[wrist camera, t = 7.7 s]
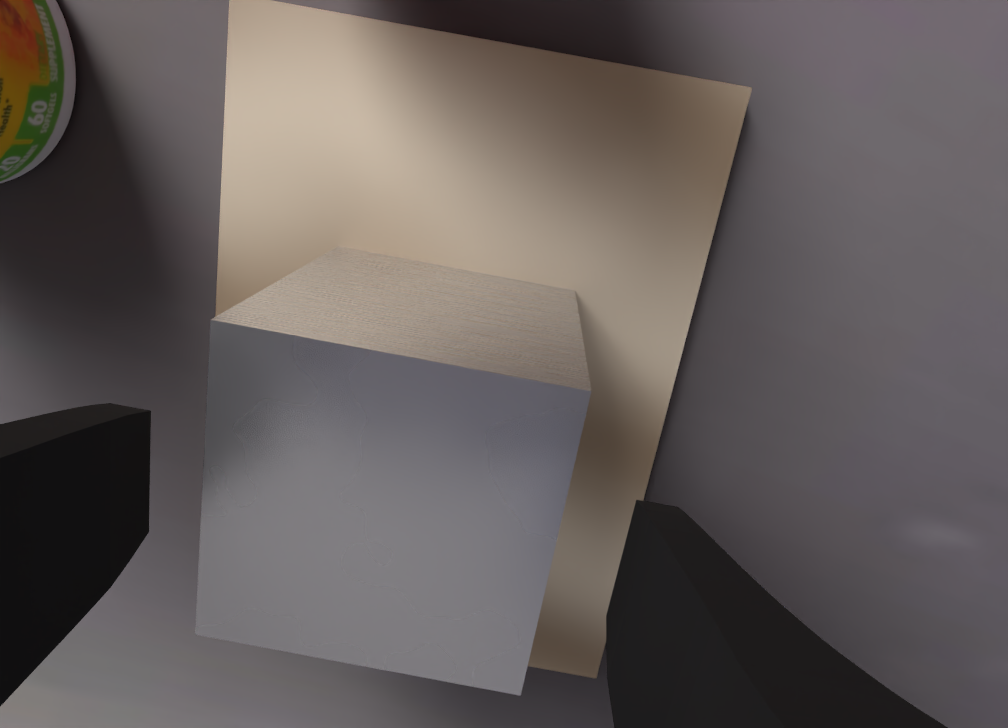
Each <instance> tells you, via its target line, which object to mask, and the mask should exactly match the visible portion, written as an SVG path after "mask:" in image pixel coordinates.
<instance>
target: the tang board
mask: <svg viewBox="0 0 1008 728" xmlns="http://www.w3.org/2000/svg"><path fill="white" fill-rule="evenodd" d="M751 90H752V88H751V87H746V86H740V85H735V84H729V83H724V82H718V81H713V80H707V79H702V78H696V77H691V76H685V75H680V74H674V73H669V72H663V71H658V70H652V69H647V68H641V67H636V66H630V65H625V64H619V63H614V62H608V61H603V60H597V59H591V58H586V57H580V56H575V55H569V54H564V53H558V52H553V51H547V50H542V49H536V48H531V47H525V46H520V45H514V44H509V43H503V42H498V41H492V40H487V39H481V38H476V37H470V36H465V35H459V34H454V33H448V32H443V31H437V30H431V29H426V28H420V27H415V26H409V25H404V24H398V23H393V22H387V21H382V20H376V19H371V18H365V17H360V16H354V15H349V14H343V13H338V12H332V11H327V10H321V9H316V8H310V7H305V6H299V5H294V4H288V3H283V2H277V1H271V0H229V22H228V44H227V67H226V89H225V112H224V134H223V157H222V179H221V202H220V225H219V247H218V270H217V292H216V315H215V317H216V316H218V315H220V314H221V313H223V312H225V311H227V310H228V309H230V308H232V307H233V306H235V305H237V304H239V303H240V302H242V301H244V300H246V299H247V298H249V297H251V296H253V295H254V294H256V293H258V292H260V291H261V290H263V289H265V288H267V287H268V286H270V285H272V284H273V283H275V282H277V281H279V280H280V279H282V278H284V277H286V276H287V275H289V274H291V273H293V272H294V271H296V270H298V269H300V268H301V267H303V266H305V265H306V264H308V263H310V262H312V261H313V260H315V259H317V258H319V257H320V256H322V255H324V254H326V253H327V252H329V251H331V250H333V249H334V248H336V247H338V246H340V247H346V248H351V249H356V250H362V251H367V252H372V253H378V254H383V255H388V256H394V257H399V258H404V259H410V260H415V261H420V262H425V263H431V264H436V265H441V266H447V267H452V268H457V269H463V270H468V271H473V272H479V273H484V274H489V275H495V276H500V277H505V278H511V279H516V280H521V281H526V282H532V283H537V284H542V285H548V286H553V287H558V288H564V289H569V290H574V291H575V293H576V299H577V306H578V312H579V318H580V324H581V330H582V336H583V342H584V349H585V355H586V361H587V367H588V373H589V379H590V385H591V395H590V400H589V404H588V408H587V413H586V417H585V421H584V425H583V430H582V434H581V438H580V443H579V447H578V451H577V456H576V460H575V464H574V468H573V473H572V477H571V481H570V486H569V490H568V494H567V499H566V503H565V507H564V511H563V516H562V520H561V524H560V529H559V533H558V537H557V542H556V546H555V550H554V554H553V559H552V563H551V567H550V572H549V576H548V580H547V585H546V589H545V593H544V597H543V602H542V606H541V610H540V615H539V619H538V623H537V628H536V632H535V636H534V640H533V645H532V649H531V653H530V658H529V662H528V666H530V667H535V668H541V669H546V670H552V671H557V672H563V673H568V674H574V675H579V676H585V677H590V678H597V674H598V670H599V666H600V662H601V659H602V655H603V651H604V647H605V643H606V615H607V611H608V607H609V603H610V599H611V595H612V591H613V588H614V584H615V580H616V576H617V572H618V568H619V564H620V561H621V557H622V553H623V549H624V545H625V541H626V537H627V534H628V530H629V526H630V522H631V518H632V514H633V511H634V507H635V503H636V500H641V501H643V499H644V496H645V492H646V488H647V484H648V481H649V477H650V473H651V469H652V465H653V462H654V458H655V454H656V450H657V446H658V443H659V439H660V435H661V431H662V428H663V424H664V420H665V416H666V412H667V409H668V405H669V401H670V397H671V393H672V390H673V386H674V382H675V378H676V374H677V371H678V367H679V363H680V359H681V356H682V352H683V348H684V344H685V340H686V337H687V333H688V329H689V325H690V321H691V318H692V314H693V310H694V306H695V302H696V299H697V295H698V291H699V287H700V284H701V280H702V276H703V272H704V268H705V265H706V261H707V257H708V253H709V249H710V246H711V242H712V238H713V234H714V230H715V227H716V223H717V219H718V215H719V212H720V208H721V204H722V200H723V196H724V193H725V189H726V185H727V181H728V177H729V174H730V170H731V166H732V162H733V159H734V155H735V151H736V147H737V143H738V140H739V136H740V132H741V128H742V124H743V121H744V117H745V113H746V109H747V105H748V102H749V98H750V94H751Z"/></svg>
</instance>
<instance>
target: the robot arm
mask: <svg viewBox="0 0 1008 728" xmlns="http://www.w3.org/2000/svg"><path fill="white" fill-rule="evenodd" d="M150 427H151V411H149V410H143V409H138V408H132V407H127V406H121V405H116V404H111V403H109V404H98V405H90V406H84V407H78V408H72V409H67V410H62V411H58V412H53V413H48V414H44V415H39V416H35V417H30V418H26V419H22V420H17V421H13V422H9V423H4V424H0V706H1V705H2V704H3V703H4V702H5V701H6V700H7V699H8V697H9V696H10V695H11V694H12V693H13V692H14V691H15V690H16V689H17V688H18V687H19V686H20V685H21V684H22V682H23V681H24V680H25V679H26V678H27V677H28V676H29V675H30V674H31V673H32V672H33V671H34V670H35V669H36V668H37V666H38V665H39V664H40V663H41V662H42V661H43V660H44V659H45V658H46V657H47V656H48V655H49V654H50V653H51V652H52V650H53V649H54V648H55V647H56V646H57V645H58V644H59V643H60V642H61V641H62V640H63V639H64V638H65V637H66V636H67V634H68V633H69V632H70V631H71V630H72V629H73V628H74V627H75V626H76V625H77V624H78V623H79V621H80V620H81V619H82V618H83V617H84V616H85V615H86V614H87V613H88V612H89V611H90V609H91V608H92V607H93V606H94V605H95V604H96V603H97V602H98V601H99V600H100V598H101V597H102V596H103V595H104V594H105V593H106V592H107V591H108V590H109V588H110V587H111V586H112V584H113V583H114V582H115V580H116V579H117V578H118V576H119V575H120V573H121V572H122V571H123V569H124V568H125V567H126V565H127V564H128V562H129V561H130V559H131V558H132V556H133V555H134V553H135V552H136V550H137V549H138V547H139V546H140V544H141V543H142V541H143V540H144V538H145V537H146V535H147V534H148V532H149V485H150ZM606 650H607V679H608V687H609V694H610V701H611V707H612V714H613V721H614V727H615V728H947V727H946V726H944V725H943V724H941V723H940V722H938V721H936V720H935V719H933V718H932V717H930V716H928V715H927V714H925V713H924V712H922V711H920V710H919V709H917V708H916V707H914V706H913V705H911V704H910V703H908V702H907V701H905V700H904V699H902V698H901V697H900V696H898V695H897V694H895V693H894V692H892V691H891V690H889V689H888V688H886V687H885V686H884V685H882V684H881V683H879V682H878V681H877V680H875V679H874V678H873V677H871V676H870V675H869V674H867V673H866V672H865V671H863V670H862V669H860V668H859V667H858V666H856V665H855V664H854V663H852V662H851V661H850V660H848V659H847V658H845V657H844V656H843V655H841V654H840V653H839V652H837V651H836V650H835V649H834V648H832V647H831V646H830V645H829V644H827V643H826V642H825V641H824V640H822V639H821V638H820V637H819V636H817V635H816V634H815V633H814V632H813V631H811V630H810V629H809V628H808V627H807V626H806V625H804V624H803V623H802V622H801V621H800V620H799V619H797V618H796V617H795V616H794V615H793V614H792V613H790V612H789V611H788V610H787V609H786V608H785V607H783V606H782V605H781V604H780V603H779V602H778V601H777V600H776V599H774V598H773V597H772V596H771V595H770V594H769V593H768V592H767V591H766V590H765V589H764V588H762V587H761V586H760V585H759V584H758V583H757V582H756V581H755V580H754V579H753V578H752V577H751V576H750V575H749V574H748V573H747V572H746V571H745V570H743V569H742V568H741V567H740V566H739V565H738V564H737V563H736V562H735V561H734V560H733V559H732V558H731V557H730V556H729V555H728V554H727V553H726V552H725V551H724V550H723V549H722V548H721V547H720V546H719V545H718V544H717V543H716V542H715V541H714V540H713V539H712V538H711V537H710V536H709V535H708V534H707V533H706V532H705V531H704V530H703V529H702V528H701V527H700V526H699V525H698V524H697V523H696V522H694V521H693V520H692V519H691V518H690V517H689V516H688V515H687V514H686V513H685V512H683V511H682V510H681V509H679V508H678V507H674V506H669V505H663V504H658V503H652V502H647V501H641V500H636V503H635V507H634V511H633V514H632V518H631V522H630V526H629V530H628V534H627V537H626V541H625V545H624V549H623V553H622V557H621V561H620V564H619V568H618V572H617V576H616V580H615V584H614V588H613V591H612V595H611V599H610V603H609V607H608V611H607V615H606Z"/></svg>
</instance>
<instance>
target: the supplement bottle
mask: <svg viewBox="0 0 1008 728" xmlns="http://www.w3.org/2000/svg"><path fill="white" fill-rule="evenodd" d="M75 87H76V68H75V58H74V51H73V46H72V42H71V38H70V35H69V31H68V28H67V25H66V22H65V19H64V16H63V14H62V12H61V10H60V8H59V5H58V3H57V1H56V0H0V183H4V182H7V181H10V180H12V179H15V178H17V177H19V176H21V175H23V174H25V173H27V172H29V171H30V170H32V169H33V168H35V167H36V166H37V165H38V164H40V163H41V162H42V161H43V160H44V159H45V158H46V157H47V156H48V155H49V154H50V153H51V152H52V150H53V149H54V148H55V146H56V145H57V144H58V142H59V140H60V139H61V137H62V136H63V133H64V131H65V129H66V127H67V125H68V123H69V120H70V117H71V113H72V109H73V104H74V97H75Z"/></svg>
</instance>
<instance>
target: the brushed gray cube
mask: <svg viewBox="0 0 1008 728" xmlns="http://www.w3.org/2000/svg"><path fill="white" fill-rule="evenodd" d="M590 395H591V385H590V379H589V373H588V367H587V361H586V355H585V349H584V342H583V336H582V330H581V324H580V318H579V312H578V306H577V299H576V293H575V291H574V290H569V289H564V288H558V287H553V286H548V285H542V284H537V283H532V282H526V281H521V280H516V279H511V278H505V277H500V276H495V275H489V274H484V273H479V272H473V271H468V270H463V269H457V268H452V267H447V266H441V265H436V264H431V263H425V262H420V261H415V260H410V259H404V258H399V257H394V256H388V255H383V254H378V253H372V252H367V251H362V250H356V249H351V248H346V247H340V246H338V247H336V248H334V249H333V250H331V251H329V252H327V253H326V254H324V255H322V256H320V257H319V258H317V259H315V260H313V261H312V262H310V263H308V264H306V265H305V266H303V267H301V268H300V269H298V270H296V271H294V272H293V273H291V274H289V275H287V276H286V277H284V278H282V279H280V280H279V281H277V282H275V283H273V284H272V285H270V286H268V287H267V288H265V289H263V290H261V291H260V292H258V293H256V294H254V295H253V296H251V297H249V298H247V299H246V300H244V301H242V302H240V303H239V304H237V305H235V306H233V307H232V308H230V309H228V310H227V311H225V312H223V313H221V314H220V315H218V316H216V317H214V318H213V319H211V321H210V342H209V362H208V383H207V403H206V424H205V444H204V464H203V485H202V505H201V526H200V546H199V567H198V587H197V608H196V628H195V635H200V636H205V637H210V638H216V639H221V640H226V641H232V642H237V643H242V644H248V645H253V646H258V647H264V648H269V649H274V650H280V651H285V652H290V653H296V654H301V655H306V656H312V657H317V658H322V659H328V660H333V661H338V662H344V663H349V664H354V665H359V666H365V667H370V668H375V669H381V670H386V671H391V672H397V673H402V674H407V675H413V676H418V677H423V678H429V679H434V680H439V681H445V682H450V683H455V684H461V685H466V686H471V687H477V688H482V689H487V690H493V691H498V692H503V693H509V694H514V695H519V696H521V692H522V688H523V683H524V679H525V675H526V671H527V666H528V662H529V658H530V653H531V649H532V645H533V640H534V636H535V632H536V628H537V623H538V619H539V615H540V610H541V606H542V602H543V597H544V593H545V589H546V585H547V580H548V576H549V572H550V567H551V563H552V559H553V554H554V550H555V546H556V542H557V537H558V533H559V529H560V524H561V520H562V516H563V511H564V507H565V503H566V499H567V494H568V490H569V486H570V481H571V477H572V473H573V468H574V464H575V460H576V456H577V451H578V447H579V443H580V438H581V434H582V430H583V425H584V421H585V417H586V413H587V408H588V404H589V400H590Z"/></svg>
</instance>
